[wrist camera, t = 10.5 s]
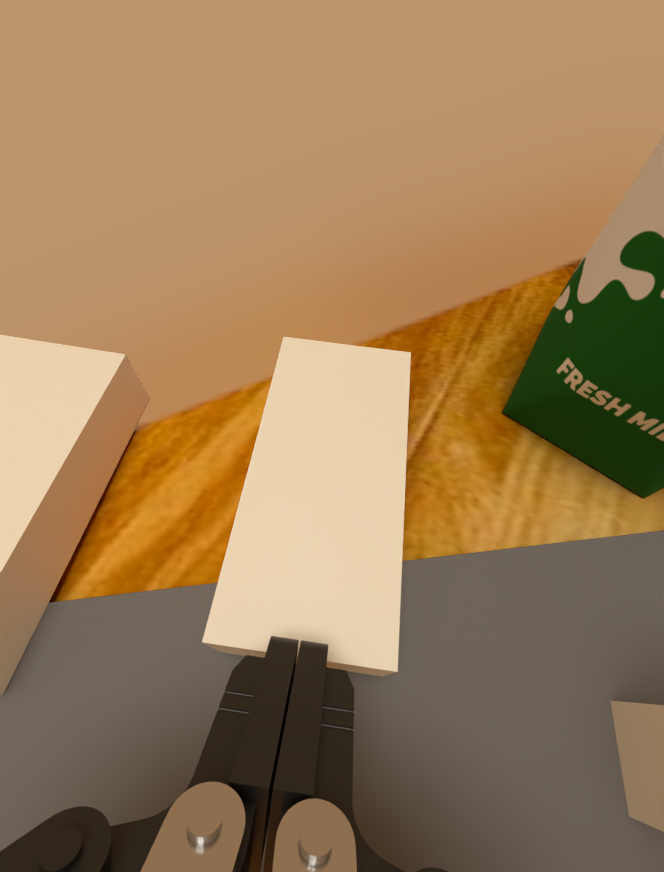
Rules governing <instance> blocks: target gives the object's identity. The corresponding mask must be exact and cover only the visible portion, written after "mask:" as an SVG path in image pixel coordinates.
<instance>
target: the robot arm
mask: <svg viewBox="0 0 664 872" xmlns="http://www.w3.org/2000/svg"><path fill="white" fill-rule="evenodd" d="M298 644H299V640H296V639H289V638H283V637H276V636H271V638H270V641H269V644H268V648H267V651H266V655H265V658H263V657H256V656H250V655H246V656H245V657H244V658H243V659H242V660H241V661H240V662H239V664H238V665H237V666H236V667H235V668H234V669H233V670H232V672H231V675H230V678H229V680H228V683H227V686H226V688H225V692H224V694H223V697H222V699H221V702H220V705H219V709H218V711H217V713H216V715H215V718H214V721H213V724H212V726H211V729H210V732H209V734H208V737H207V740H206V742H205V745H204V748H203V751H202V753H201V756H200V759H199V761H198V764H197V767H196V769H195V772H194V775H193V777H192V779H191V782H190V784H189V785H188V787H187V789H186V790H185V791H184V793H183V794H182V795H181V796H180V797H179V798H178V799H177V800H176V801H175V802H174V803H173V804H172V805H171V806H169V807H168V808H167V809H165V810H164V811H162V812H160V813H158V814H156V815H154V816H152V817H149V818H145V819H141V820H137V821H132V822H127V823H123V824H118V825H113V826H110V825H109V822H108V820H107V818H106V817H105V815H104V814H103V813H102V812H101V811H99V810H97V809H95V808H92V807H88V806H79V807H73V808H69V809H66V810H63V811H61V812H59V813H57V814H55V815H53V816H52V817H50V818H48V819H47V820H45V821H44V822H42V823H41V824H40V825H38V826H37V827H35V828H34V829H32V830H31V831H29V832H28V833H26V834H25V835H23V836H22V837H20V838H19V839H18V840H16V841H15V842H13V843H12V844H10V845H9V846H7V847H6V848H4V849H3V850H1V851H0V872H260V869H261V863H262V858H263V853H264V847H265V842H266V836H267V843H266V852H265V860H264V869H263V872H404V871H402V870H401V869H399V868H397V867H396V866H394V865H392V864H391V863H389V862H387V861H386V860H384V859H383V858H381V857H380V856H379V855H377V854H376V853H375V852H374V851H373V850H372V849H371V848H370V847H369V845H368V844H367V843H366V842H365V840H364V838H363V837H362V835H361V834H360V831H359V829H358V827H357V825H356V821H355V818H354V813H353V804H352V794H353V737H354V732H353V729H354V687H353V685H352V683H351V680H350V678H349V675H348V673H347V671H346V670H341V669H334V668H328V667H326V665H327V655H328V644H323V643H316V642H310V641H303V640H301V643H300V648H299V653H298V659H297V652H298ZM296 660H297V664H296ZM295 668H296V669H295ZM268 825H269V827H268ZM267 831H268V835H267ZM416 872H447V871H446V870H443V869H440V868H433V867H429V868H423V869H420V870H418V871H416Z"/></svg>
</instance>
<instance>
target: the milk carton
mask: <svg viewBox="0 0 664 872" xmlns="http://www.w3.org/2000/svg"><path fill="white" fill-rule="evenodd" d="M502 413H504V414H506V415H507V416H509V417H511V418H512V419H514V420H516V421H517V422H519V423H521V424H522V425H524V426H525V427H527V428H529V429H530V430H532V431H534V432H535V433H537V434H539V435H540V436H542V437H544V438H545V439H547V440H549V441H550V442H552V443H553V444H555V445H557V446H558V447H560V448H562V449H563V450H565V451H567V452H568V453H570V454H572V455H573V456H575V457H577V458H578V459H580V460H582V461H583V462H585V463H586V464H588V465H590V466H591V467H593V468H595V469H596V470H598V471H600V472H601V473H603V474H605V475H606V476H608V477H610V478H611V479H613V480H615V481H616V482H618V483H620V484H621V485H623V486H624V487H626V488H628V489H629V490H631V491H633V492H634V493H636V494H638V495H639V496H641V497H642V498H645V497H647V496H649V495H651V494H653V493H655V492H657V491H659V490H660V489H662V488H664V135H663V137H662V138H661V140H660V142H659V143H658V145H657V146H656V148H655V149H654V151H653V152H652V154H651V155H650V157H649V158H648V160H647V161H646V163H645V164H644V166H643V167H642V169H641V171H640V172H639V174H638V175H637V177H636V178H635V180H634V181H633V183H632V184H631V186H630V187H629V189H628V191H627V192H626V194H625V195H624V197H623V198H622V200H621V201H620V203H619V204H618V206H617V207H616V209H615V210H614V212H613V213H612V215H611V216H610V218H609V219H608V221H607V223H606V224H605V226H604V227H603V229H602V230H601V232H600V233H599V235H598V236H597V238H596V239H595V241H594V243H593V244H592V246H591V247H590V249H589V250H588V252H587V253H586V255H585V256H584V258H583V259H582V261H581V262H580V264H579V265H578V267H577V269H576V270H575V272H574V274H573V275H572V277H571V278H570V280H569V282H568V283H567V285H566V287H565V288H564V290H563V292H562V293H561V295H560V296H559V298H558V300H557V301H556V303H555V305H554V306H553V308H552V310H551V312H550V313H549V315H548V317H547V319H546V321H545V323H544V326H543V328H542V330H541V332H540V334H539V336H538V338H537V340H536V343H535V345H534V347H533V349H532V351H531V353H530V356H529V358H528V360H527V362H526V364H525V366H524V368H523V371H522V373H521V375H520V377H519V379H518V381H517V383H516V385H515V387H514V389H513V391H512V394H511V396H510V398H509V400H508V402H507V404H506V406H505V408H504V410H503V412H502Z"/></svg>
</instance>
